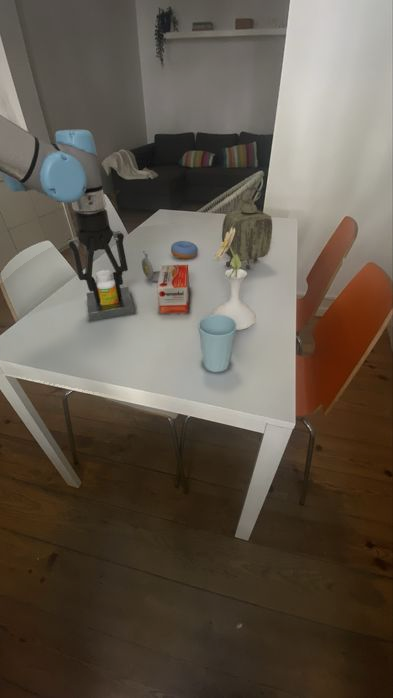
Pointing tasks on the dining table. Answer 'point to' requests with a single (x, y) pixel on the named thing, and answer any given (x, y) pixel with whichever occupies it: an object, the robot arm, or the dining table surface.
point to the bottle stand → (110, 306)
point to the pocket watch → (149, 270)
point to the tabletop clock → (248, 231)
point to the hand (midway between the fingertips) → (108, 297)
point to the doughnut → (184, 249)
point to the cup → (216, 341)
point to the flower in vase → (234, 289)
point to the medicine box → (173, 289)
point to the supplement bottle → (106, 288)
